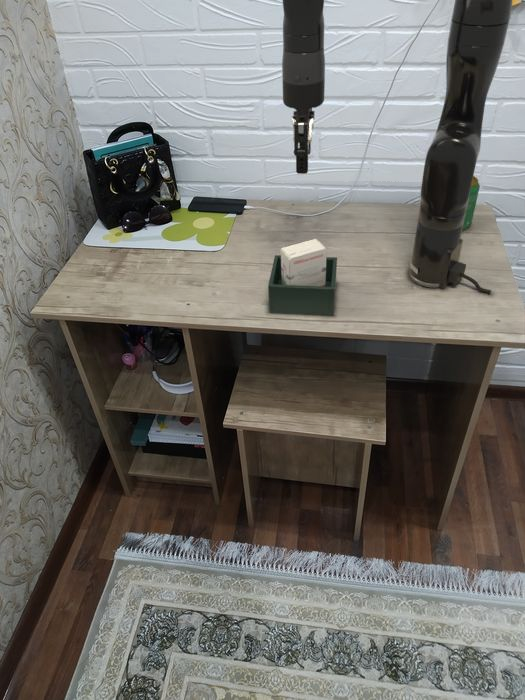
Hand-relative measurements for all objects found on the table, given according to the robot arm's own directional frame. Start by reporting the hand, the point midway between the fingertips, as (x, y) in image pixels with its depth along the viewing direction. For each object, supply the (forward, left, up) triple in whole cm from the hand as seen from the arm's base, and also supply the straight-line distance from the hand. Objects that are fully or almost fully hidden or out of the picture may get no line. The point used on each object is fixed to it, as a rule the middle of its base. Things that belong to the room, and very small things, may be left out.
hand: (303, 163), depth 112 cm
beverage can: (-18, -40, -28) cm, 52 cm away
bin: (-4, +6, -27) cm, 28 cm away
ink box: (-4, +6, -27) cm, 28 cm away
